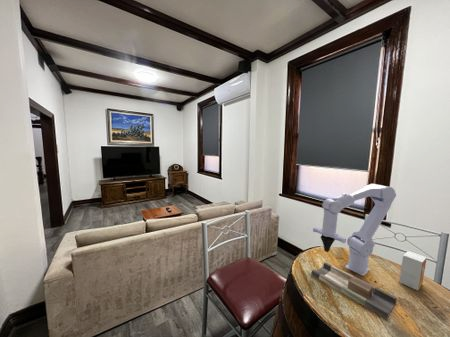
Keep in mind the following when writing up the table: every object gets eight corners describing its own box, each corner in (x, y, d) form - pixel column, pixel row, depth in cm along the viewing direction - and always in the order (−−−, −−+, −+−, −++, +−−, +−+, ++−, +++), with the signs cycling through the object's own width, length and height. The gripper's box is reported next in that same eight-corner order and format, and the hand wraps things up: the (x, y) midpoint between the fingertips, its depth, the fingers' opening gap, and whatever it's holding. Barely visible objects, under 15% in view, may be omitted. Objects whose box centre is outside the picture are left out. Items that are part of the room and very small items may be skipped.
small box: (418, 291, 79) (422, 262, 77) (398, 282, 84) (402, 255, 83) (422, 284, 83) (427, 257, 82) (403, 276, 88) (407, 250, 87)
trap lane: (324, 266, 93) (325, 261, 92) (396, 303, 71) (396, 297, 71) (311, 275, 85) (311, 270, 85) (386, 320, 63) (387, 313, 63)
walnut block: (352, 285, 79) (353, 276, 79) (372, 295, 74) (373, 286, 73) (347, 289, 76) (348, 280, 76) (367, 301, 71) (369, 291, 70)
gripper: (310, 220, 92) (308, 246, 93) (342, 231, 80) (339, 260, 82) (317, 218, 96) (315, 243, 97) (349, 228, 85) (345, 256, 86)
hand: (326, 250), depth 90 cm, fingers closed
